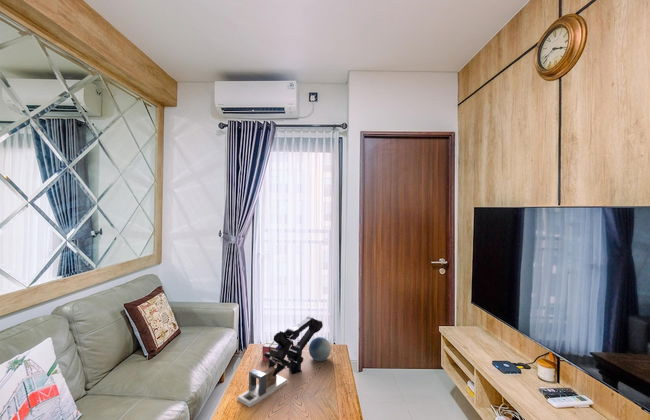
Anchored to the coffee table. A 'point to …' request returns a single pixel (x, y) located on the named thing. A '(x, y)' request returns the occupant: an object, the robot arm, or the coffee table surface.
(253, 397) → the plate
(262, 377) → the tunnel
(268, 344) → the puzzle cube
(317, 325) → the robot arm
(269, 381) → the walnut bar
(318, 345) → the decorative ball
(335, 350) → the coffee table surface
